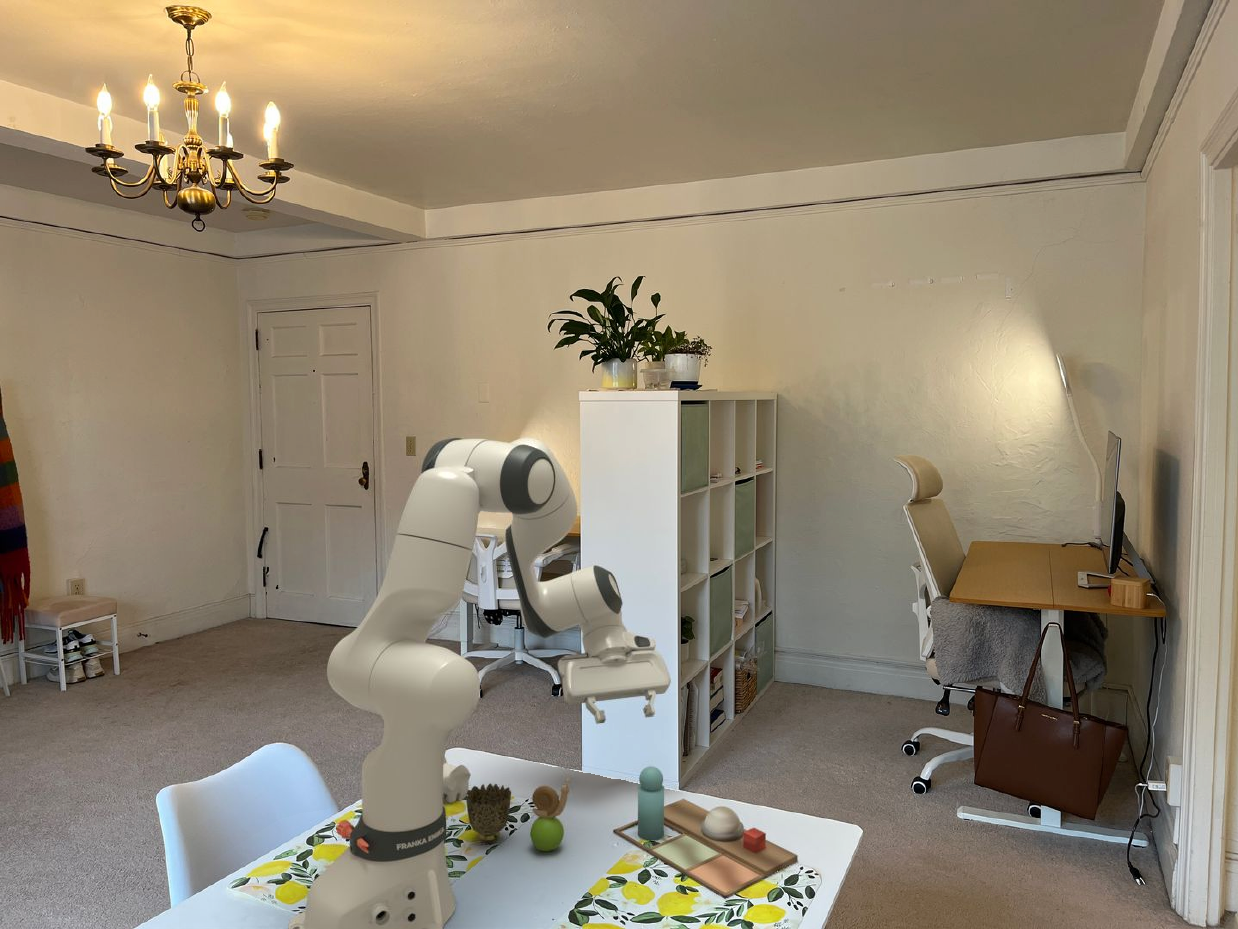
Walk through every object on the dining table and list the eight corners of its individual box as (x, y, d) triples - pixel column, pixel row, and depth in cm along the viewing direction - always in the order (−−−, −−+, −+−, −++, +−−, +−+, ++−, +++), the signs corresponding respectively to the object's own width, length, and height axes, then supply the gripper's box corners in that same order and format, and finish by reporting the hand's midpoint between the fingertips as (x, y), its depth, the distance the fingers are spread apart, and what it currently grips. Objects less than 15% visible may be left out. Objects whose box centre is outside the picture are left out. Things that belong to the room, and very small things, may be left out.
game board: (725, 905, 126) (725, 865, 126) (613, 838, 146) (613, 803, 146) (797, 867, 137) (798, 830, 136) (683, 809, 157) (683, 777, 156)
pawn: (649, 843, 142) (650, 775, 142) (632, 833, 146) (632, 766, 145) (669, 835, 145) (669, 768, 144) (651, 825, 148) (652, 760, 148)
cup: (507, 851, 139) (507, 803, 139) (462, 850, 140) (461, 802, 139) (514, 829, 147) (514, 783, 146) (471, 828, 147) (470, 782, 147)
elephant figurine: (412, 800, 158) (412, 762, 157) (456, 784, 164) (456, 747, 164) (436, 814, 152) (435, 775, 152) (480, 797, 159) (480, 759, 159)
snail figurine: (564, 860, 137) (564, 786, 136) (526, 855, 138) (525, 782, 137) (573, 843, 142) (573, 772, 141) (535, 839, 144) (535, 768, 143)
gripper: (558, 647, 159) (574, 717, 150) (661, 638, 166) (682, 704, 157) (552, 664, 163) (567, 733, 155) (653, 654, 170) (672, 720, 162)
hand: (626, 719), depth 156 cm, fingers open, 8 cm apart
